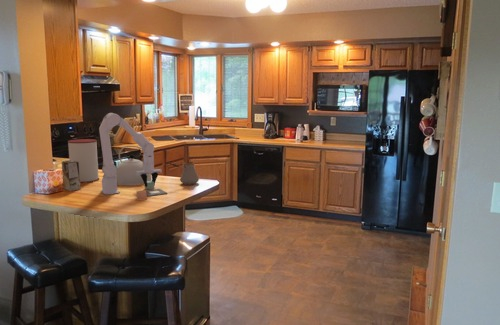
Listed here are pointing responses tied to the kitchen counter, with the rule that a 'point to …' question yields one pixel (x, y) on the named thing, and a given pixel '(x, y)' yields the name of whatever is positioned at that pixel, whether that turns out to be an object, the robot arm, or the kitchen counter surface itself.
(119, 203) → the kitchen counter surface
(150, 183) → the base block
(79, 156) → the container
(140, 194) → the top block
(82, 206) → the kitchen counter surface
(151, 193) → the grey flat square plate
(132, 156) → the kettle
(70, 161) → the coffee box
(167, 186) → the kitchen counter surface
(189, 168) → the coffee pot
